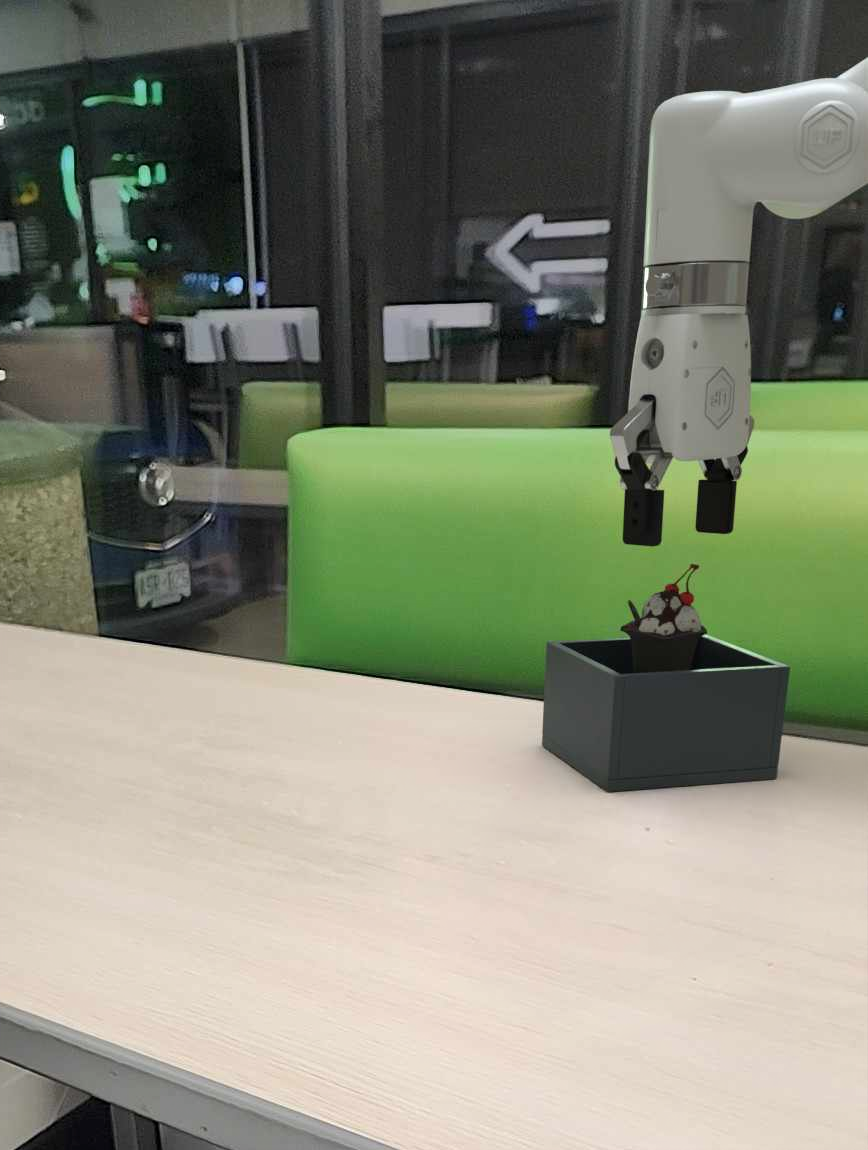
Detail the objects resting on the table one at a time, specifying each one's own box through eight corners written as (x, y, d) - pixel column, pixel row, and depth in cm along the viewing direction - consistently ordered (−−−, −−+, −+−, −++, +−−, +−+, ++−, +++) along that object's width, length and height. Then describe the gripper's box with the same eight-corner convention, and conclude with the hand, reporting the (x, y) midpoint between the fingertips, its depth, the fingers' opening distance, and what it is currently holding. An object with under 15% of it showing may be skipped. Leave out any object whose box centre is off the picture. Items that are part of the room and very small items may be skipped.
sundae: (712, 752, 110) (732, 565, 104) (654, 764, 107) (670, 572, 100) (655, 735, 115) (670, 556, 109) (598, 747, 112) (610, 562, 105)
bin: (694, 734, 119) (704, 633, 116) (776, 779, 106) (790, 666, 103) (541, 745, 116) (546, 641, 112) (607, 792, 103) (615, 676, 99)
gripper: (668, 289, 89) (653, 553, 96) (802, 293, 100) (780, 531, 107) (579, 295, 94) (571, 546, 101) (716, 299, 105) (700, 526, 112)
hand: (678, 538), depth 104 cm, fingers open, 9 cm apart
